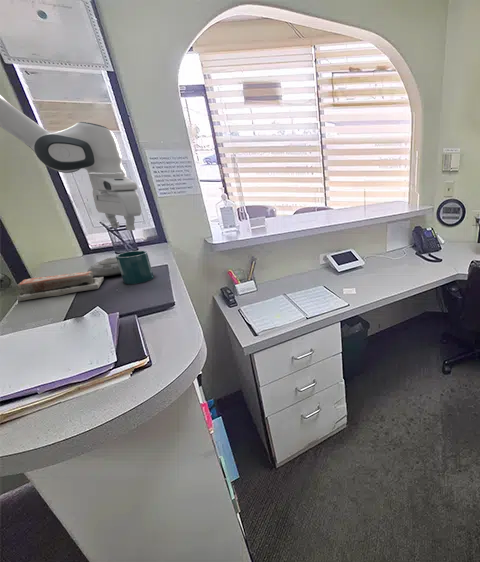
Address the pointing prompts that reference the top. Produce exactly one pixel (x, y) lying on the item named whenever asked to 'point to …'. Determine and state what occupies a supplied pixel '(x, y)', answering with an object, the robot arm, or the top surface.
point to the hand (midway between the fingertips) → (123, 228)
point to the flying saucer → (105, 267)
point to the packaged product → (57, 285)
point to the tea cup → (135, 267)
